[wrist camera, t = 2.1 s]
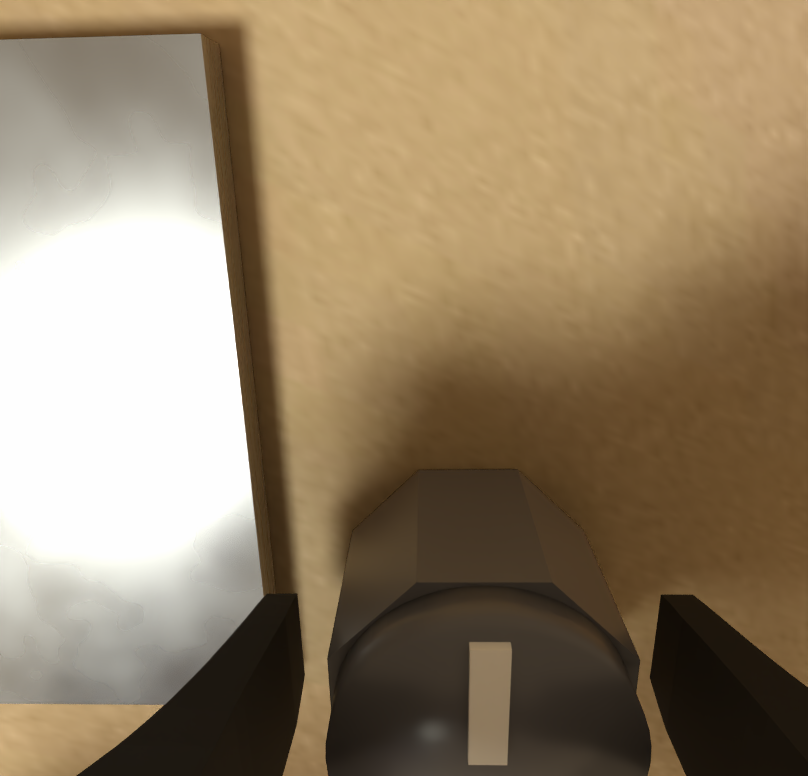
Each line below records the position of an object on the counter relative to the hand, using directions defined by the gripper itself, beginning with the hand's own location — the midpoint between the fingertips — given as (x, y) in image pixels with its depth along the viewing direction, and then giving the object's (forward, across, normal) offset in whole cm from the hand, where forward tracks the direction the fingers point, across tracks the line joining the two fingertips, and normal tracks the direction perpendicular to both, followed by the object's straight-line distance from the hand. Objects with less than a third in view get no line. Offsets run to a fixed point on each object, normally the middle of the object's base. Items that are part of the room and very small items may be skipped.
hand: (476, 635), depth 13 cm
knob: (+2, 0, 0) cm, 2 cm away
